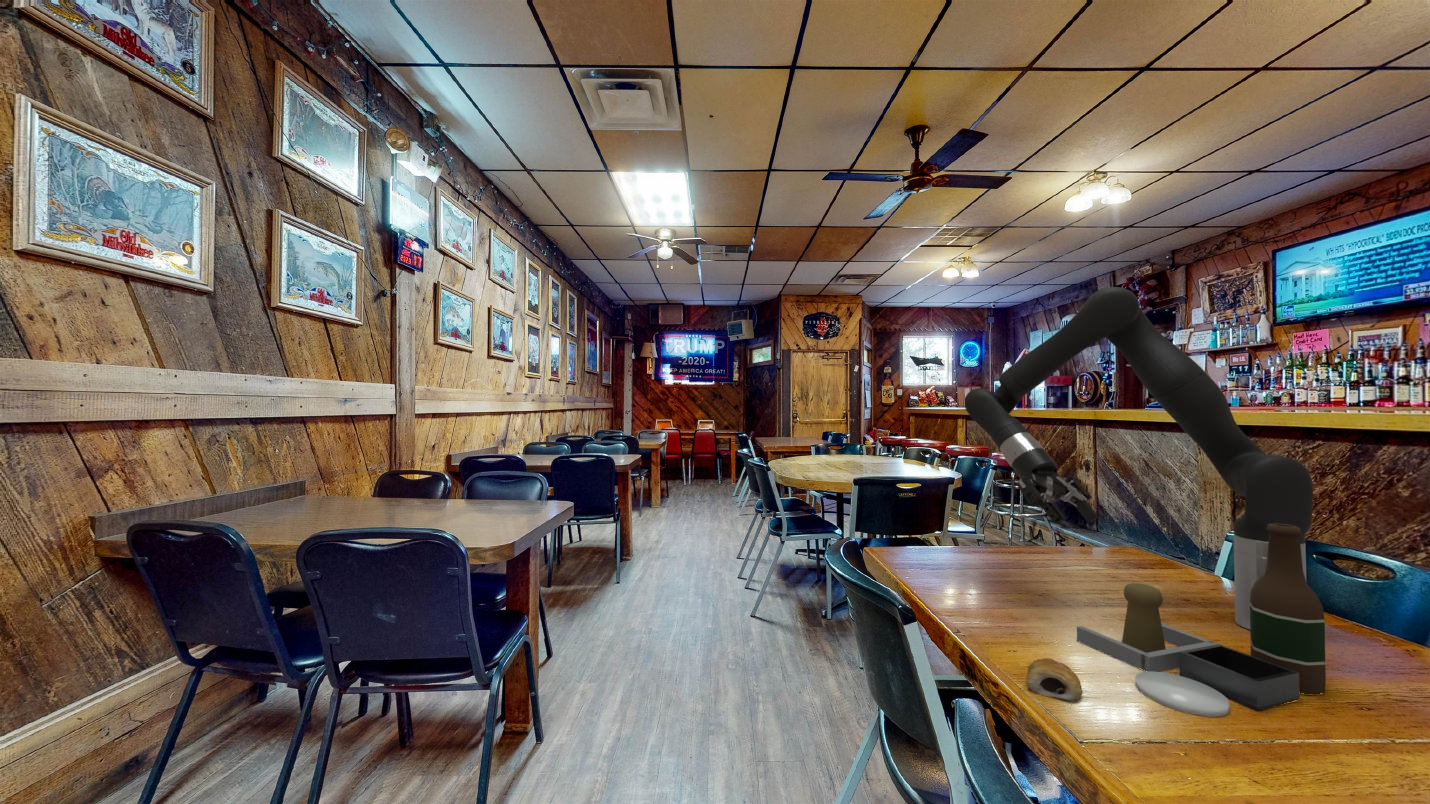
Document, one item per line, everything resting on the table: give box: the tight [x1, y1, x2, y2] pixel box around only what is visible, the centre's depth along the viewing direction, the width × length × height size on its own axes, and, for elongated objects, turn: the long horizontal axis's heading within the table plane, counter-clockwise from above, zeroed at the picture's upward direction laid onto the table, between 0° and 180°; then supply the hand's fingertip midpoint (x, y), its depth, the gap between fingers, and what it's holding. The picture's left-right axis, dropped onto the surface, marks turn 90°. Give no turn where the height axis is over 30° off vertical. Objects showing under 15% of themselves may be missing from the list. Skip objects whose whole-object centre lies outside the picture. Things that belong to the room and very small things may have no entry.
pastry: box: [1026, 657, 1084, 702], centre depth 76 cm, size 9×7×4 cm
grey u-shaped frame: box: [1076, 622, 1219, 672], centre depth 87 cm, size 16×12×2 cm
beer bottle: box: [1249, 523, 1327, 694], centre depth 77 cm, size 8×8×24 cm
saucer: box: [1135, 671, 1230, 718], centre depth 73 cm, size 10×10×1 cm
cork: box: [1121, 582, 1167, 653], centre depth 88 cm, size 6×6×11 cm
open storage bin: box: [1178, 643, 1301, 712], centre depth 75 cm, size 9×9×4 cm
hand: (1077, 521), depth 100 cm, fingers open, 8 cm apart
